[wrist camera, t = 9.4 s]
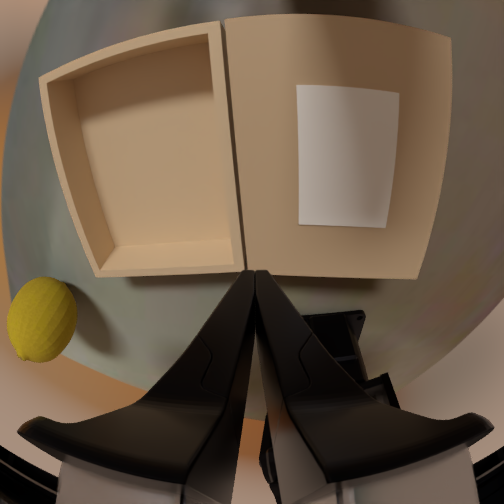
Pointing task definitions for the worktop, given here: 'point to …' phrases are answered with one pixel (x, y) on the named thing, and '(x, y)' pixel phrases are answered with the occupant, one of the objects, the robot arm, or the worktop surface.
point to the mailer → (150, 153)
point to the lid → (338, 142)
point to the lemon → (42, 319)
